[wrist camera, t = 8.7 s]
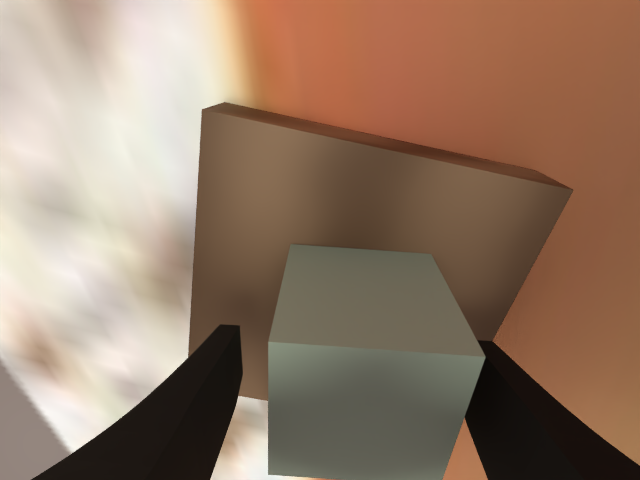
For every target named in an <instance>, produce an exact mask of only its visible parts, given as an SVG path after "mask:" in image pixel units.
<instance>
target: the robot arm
mask: <svg viewBox="0 0 640 480" xmlns="http://www.w3.org/2000/svg"><path fill="white" fill-rule="evenodd" d="M477 341H478V343H479V345H480V347H481V349H482V351H483V353H484V355H485V360H484V363H483V366H482V369H481V372H480V374H479V377H478V380H477V383H476V386H475V389H474V391H473V394H472V397H471V400H470V403H469V405H468V408H467V411H466V414H465V420H466V423H467V426H468V428H469V431H470V434H471V436H472V439H473V442H474V444H475V447H476V450H477V452H478V455H479V457H480V460H481V462H482V465H483V468H484V470H485V473H486V475H487V478H488V480H640V466H639V465H638V464H636V463H635V462H634V461H632V460H631V459H630V458H628V457H627V456H626V455H624V454H623V453H622V452H620V451H619V450H618V449H616V448H615V447H614V446H612V445H611V444H610V443H608V442H607V441H606V440H604V439H603V438H602V437H600V436H599V435H598V434H597V433H595V432H594V431H593V430H592V429H590V428H589V427H588V426H587V425H585V424H584V423H583V422H582V421H581V420H579V419H578V418H577V417H576V416H575V415H573V414H572V413H571V412H570V411H569V410H567V409H566V408H565V407H564V406H563V405H562V404H560V403H559V402H558V401H557V400H556V399H555V398H554V397H552V396H551V395H550V394H549V393H548V392H547V391H546V390H545V389H543V388H542V387H541V386H540V385H539V384H538V383H537V382H536V381H535V380H534V379H532V378H531V377H530V376H529V375H528V374H527V373H526V372H525V371H524V370H523V369H522V368H521V367H520V366H518V365H517V364H516V363H515V362H514V361H513V360H512V359H511V358H510V357H509V356H508V355H507V354H506V353H505V352H503V351H502V350H501V349H500V348H499V347H498V346H497V345H496V344H495V343H493V342H492V341H483V340H477ZM242 376H243V365H242V351H241V336H240V325H225V324H220V325H219V326H218V327H217V328H216V329H215V330H214V331H213V332H212V333H211V334H210V335H209V336H208V337H207V338H206V340H205V341H204V342H203V343H202V344H201V345H200V346H199V347H198V348H197V349H196V350H195V351H194V352H193V353H192V354H191V355H190V356H189V357H188V358H187V359H186V360H185V361H184V362H183V363H182V364H181V365H180V366H179V367H178V368H177V369H176V370H175V371H174V372H173V373H172V374H171V375H170V376H169V377H168V378H167V379H166V380H165V381H164V382H163V383H161V384H160V385H159V386H158V387H157V388H156V389H155V390H154V391H153V392H152V393H150V394H149V395H148V396H147V397H146V398H145V399H144V400H142V401H141V402H140V403H139V404H138V405H137V406H135V407H134V408H133V409H132V410H130V411H129V412H128V413H127V414H125V415H124V416H123V417H122V418H120V419H119V420H118V421H117V422H115V423H114V424H113V425H111V426H110V427H109V428H107V429H106V430H105V431H103V432H102V433H101V434H99V435H98V436H96V437H95V438H94V439H92V440H91V441H89V442H88V443H86V444H85V445H84V446H82V447H81V448H79V449H78V450H76V451H75V452H74V453H72V454H71V455H69V456H68V457H66V458H65V459H63V460H62V461H60V462H58V463H57V464H56V465H54V466H52V467H51V468H49V469H48V470H46V471H44V472H43V473H41V474H40V475H38V476H36V477H35V478H33V479H32V480H210V478H211V475H212V473H213V470H214V467H215V464H216V461H217V458H218V455H219V453H220V450H221V447H222V444H223V441H224V438H225V436H226V433H227V430H228V427H229V424H230V421H231V418H232V415H233V413H234V410H235V407H236V403H237V399H238V394H239V390H240V386H241V381H242Z"/></svg>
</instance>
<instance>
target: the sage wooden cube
mask: <svg viewBox="0 0 640 480" xmlns="http://www.w3.org/2000/svg"><path fill="white" fill-rule="evenodd" d="M484 360H485V355H484V353H483V351H482V349H481V347H480V345H479V343H478V341H477V340H476V338H475V336H474V334H473V332H472V330H471V328H470V326H469V324H468V323H467V321H466V319H465V317H464V315H463V313H462V311H461V309H460V307H459V306H458V304H457V302H456V300H455V298H454V296H453V294H452V292H451V290H450V289H449V287H448V285H447V283H446V281H445V279H444V277H443V275H442V273H441V272H440V270H439V268H438V266H437V264H436V262H435V260H434V258H433V256H432V255H431V254H425V253H411V252H397V251H382V250H368V249H354V248H340V247H325V246H311V245H297V244H291V245H290V249H289V254H288V258H287V262H286V267H285V271H284V275H283V280H282V284H281V288H280V293H279V297H278V302H277V306H276V310H275V315H274V319H273V323H272V328H271V332H270V336H269V341H268V475H282V476H296V477H311V478H325V479H340V480H442V479H443V476H444V473H445V470H446V467H447V465H448V462H449V459H450V456H451V453H452V451H453V448H454V445H455V442H456V439H457V436H458V434H459V431H460V428H461V425H462V422H463V420H464V417H465V414H466V411H467V408H468V405H469V403H470V400H471V397H472V394H473V391H474V389H475V386H476V383H477V380H478V377H479V374H480V372H481V369H482V366H483V363H484Z"/></svg>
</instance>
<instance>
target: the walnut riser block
mask: <svg viewBox="0 0 640 480" xmlns="http://www.w3.org/2000/svg"><path fill="white" fill-rule="evenodd" d="M572 192H573V190H572V189H571V188H569V187H567V186H565V185H563V184H561V183H559V182H557V181H555V180H553V179H551V178H549V177H547V176H545V175H543V174H541V173H539V172H537V171H535V170H531V169H527V168H522V167H518V166H513V165H509V164H504V163H499V162H495V161H490V160H486V159H481V158H477V157H472V156H467V155H463V154H458V153H454V152H449V151H445V150H440V149H436V148H431V147H426V146H422V145H417V144H413V143H408V142H404V141H399V140H394V139H390V138H385V137H381V136H376V135H372V134H367V133H362V132H358V131H353V130H349V129H344V128H340V127H335V126H330V125H326V124H321V123H317V122H312V121H308V120H303V119H299V118H294V117H289V116H285V115H280V114H276V113H271V112H267V111H262V110H257V109H253V108H248V107H244V106H239V105H235V104H230V103H225V102H224V103H221V104H218V105H215V106H211V107H208V108H205V109H202V119H201V137H200V155H199V173H198V191H197V209H196V227H195V245H194V263H193V281H192V299H191V317H190V335H189V353H188V357H189V356H190V355H191V354H192V353H193V352H194V351H195V350H196V349H197V348H198V347H199V346H200V345H201V344H202V343H203V342H204V341H205V340H206V338H207V337H208V336H209V335H210V334H211V333H212V332H213V331H214V330H215V329H216V328H217V327H218V326H219V325H220V324H225V325H240V336H241V351H242V365H243V376H242V381H241V386H240V390H239V394H238V396H243V397H249V398H255V399H261V400H266V401H268V341H269V336H270V332H271V328H272V323H273V319H274V315H275V310H276V306H277V302H278V297H279V293H280V288H281V284H282V280H283V275H284V271H285V267H286V262H287V258H288V254H289V249H290V245H291V244H297V245H311V246H325V247H340V248H354V249H368V250H382V251H397V252H411V253H425V254H431V255H432V256H433V258H434V260H435V262H436V264H437V266H438V268H439V270H440V272H441V273H442V275H443V277H444V279H445V281H446V283H447V285H448V287H449V289H450V290H451V292H452V294H453V296H454V298H455V300H456V302H457V304H458V306H459V307H460V309H461V311H462V313H463V315H464V317H465V319H466V321H467V323H468V324H469V326H470V328H471V330H472V332H473V334H474V336H475V338H476V340H483V341H492V340H493V338H494V337H495V335H496V333H497V331H498V329H499V327H500V325H501V324H502V322H503V320H504V318H505V316H506V314H507V313H508V311H509V309H510V307H511V305H512V303H513V301H514V300H515V298H516V296H517V294H518V292H519V290H520V288H521V287H522V285H523V283H524V281H525V279H526V277H527V275H528V274H529V272H530V270H531V268H532V266H533V264H534V262H535V261H536V259H537V257H538V255H539V253H540V251H541V250H542V248H543V246H544V244H545V242H546V240H547V238H548V237H549V235H550V233H551V231H552V229H553V227H554V225H555V224H556V222H557V220H558V218H559V216H560V214H561V212H562V211H563V209H564V207H565V205H566V203H567V201H568V199H569V198H570V196H571V194H572Z"/></svg>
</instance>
